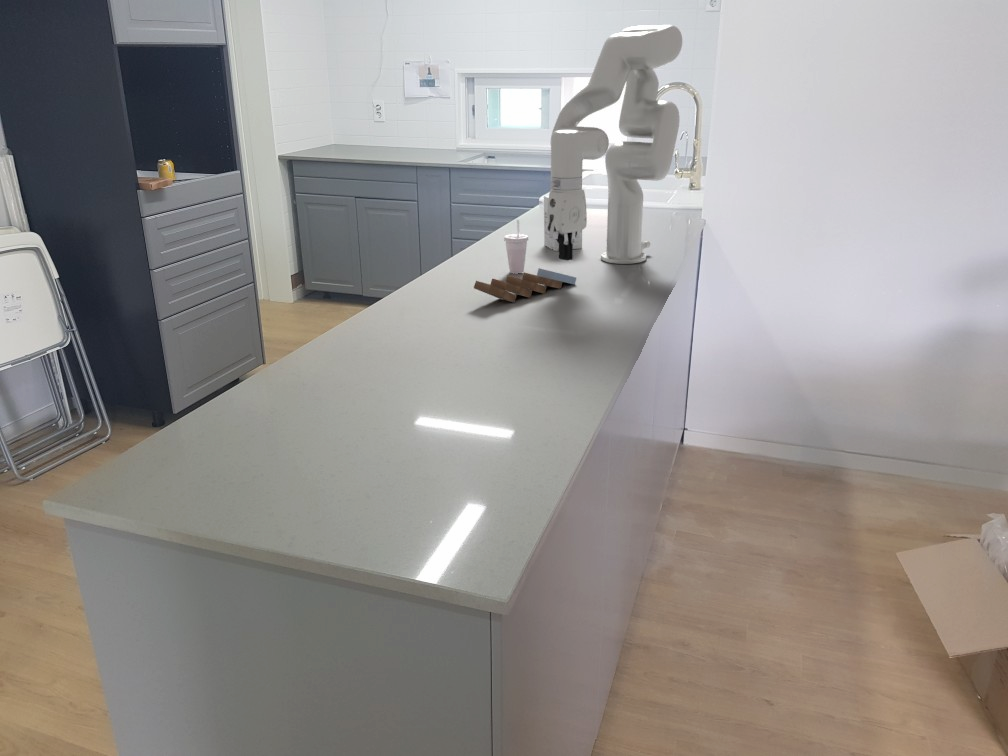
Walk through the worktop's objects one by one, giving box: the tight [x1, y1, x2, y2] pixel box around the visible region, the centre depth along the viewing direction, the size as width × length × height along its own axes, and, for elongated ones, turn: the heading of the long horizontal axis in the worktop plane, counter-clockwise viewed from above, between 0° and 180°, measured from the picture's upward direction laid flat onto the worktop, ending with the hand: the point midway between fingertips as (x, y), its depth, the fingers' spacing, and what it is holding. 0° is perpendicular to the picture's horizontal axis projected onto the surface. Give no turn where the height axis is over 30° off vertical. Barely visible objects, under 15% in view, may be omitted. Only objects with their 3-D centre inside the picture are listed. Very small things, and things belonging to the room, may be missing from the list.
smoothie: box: [503, 219, 529, 275], centre depth 205 cm, size 6×6×14 cm
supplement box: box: [543, 195, 583, 252], centre depth 232 cm, size 9×9×15 cm
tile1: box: [536, 268, 577, 285], centre depth 194 cm, size 2×5×9 cm
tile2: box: [521, 272, 563, 290], centre depth 191 cm, size 2×5×9 cm
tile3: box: [505, 274, 547, 295], centre depth 187 cm, size 2×5×9 cm
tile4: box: [490, 278, 533, 299], centre depth 184 cm, size 2×5×9 cm
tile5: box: [473, 280, 517, 303], centre depth 181 cm, size 2×5×9 cm
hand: (565, 259), depth 194 cm, fingers closed
